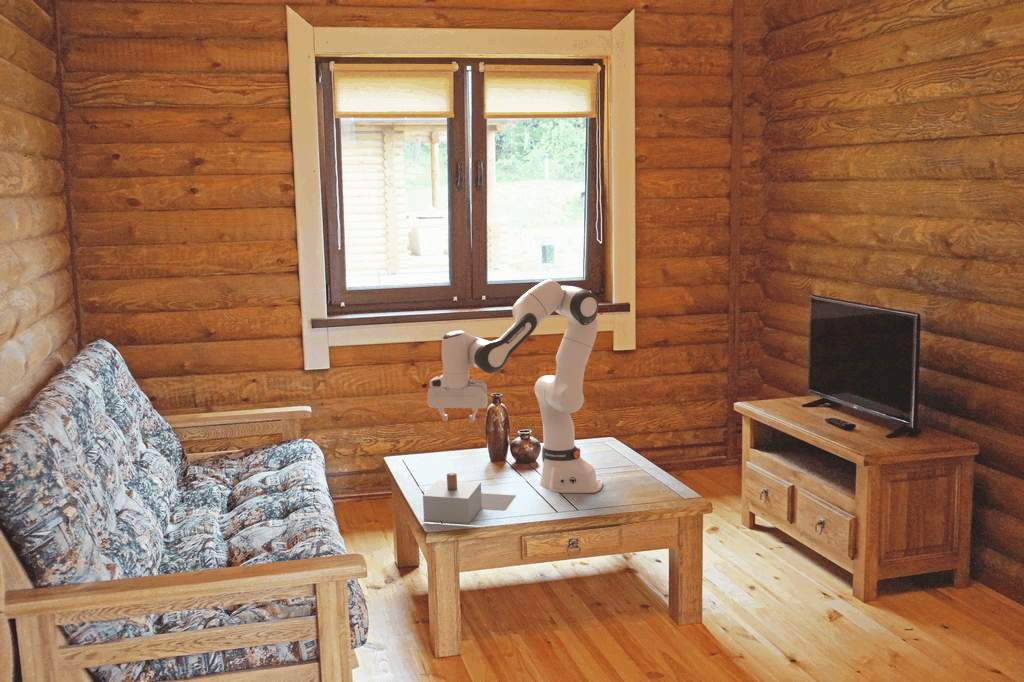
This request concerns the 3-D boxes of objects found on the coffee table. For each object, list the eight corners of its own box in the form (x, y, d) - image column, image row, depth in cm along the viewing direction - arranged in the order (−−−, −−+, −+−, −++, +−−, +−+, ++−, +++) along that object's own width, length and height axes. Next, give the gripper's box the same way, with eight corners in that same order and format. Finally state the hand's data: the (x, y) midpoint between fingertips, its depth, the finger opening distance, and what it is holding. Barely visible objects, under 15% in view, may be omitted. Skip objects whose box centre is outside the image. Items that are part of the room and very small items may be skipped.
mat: (516, 497, 356) (516, 495, 356) (505, 512, 340) (505, 510, 340) (466, 493, 360) (466, 492, 360) (453, 508, 345) (453, 507, 344)
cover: (481, 507, 344) (480, 468, 341) (469, 524, 329) (467, 483, 326) (438, 504, 347) (436, 465, 344) (424, 521, 333) (422, 481, 330)
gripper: (489, 378, 341) (491, 418, 343) (430, 377, 345) (432, 417, 348) (484, 382, 335) (486, 423, 337) (424, 381, 339) (426, 422, 342)
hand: (458, 420), depth 343 cm, fingers open, 8 cm apart
